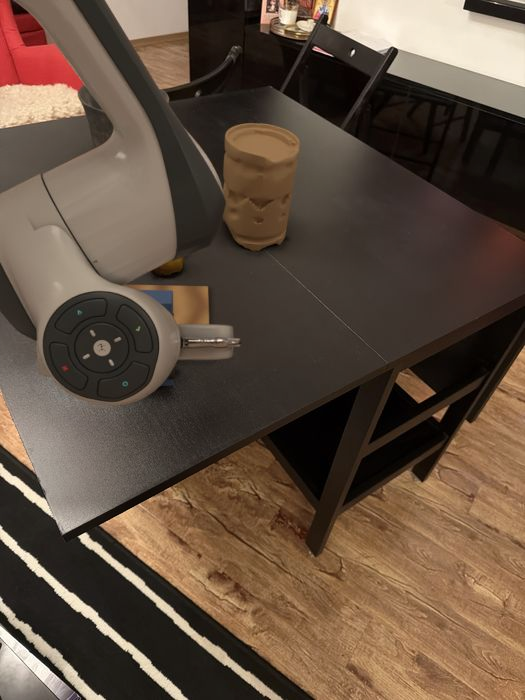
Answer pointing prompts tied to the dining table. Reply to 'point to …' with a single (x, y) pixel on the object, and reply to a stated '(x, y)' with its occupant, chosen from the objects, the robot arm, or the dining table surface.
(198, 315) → the brown flat square board
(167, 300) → the toy car
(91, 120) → the cup
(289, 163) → the container
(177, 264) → the fruit
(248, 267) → the dining table surface
